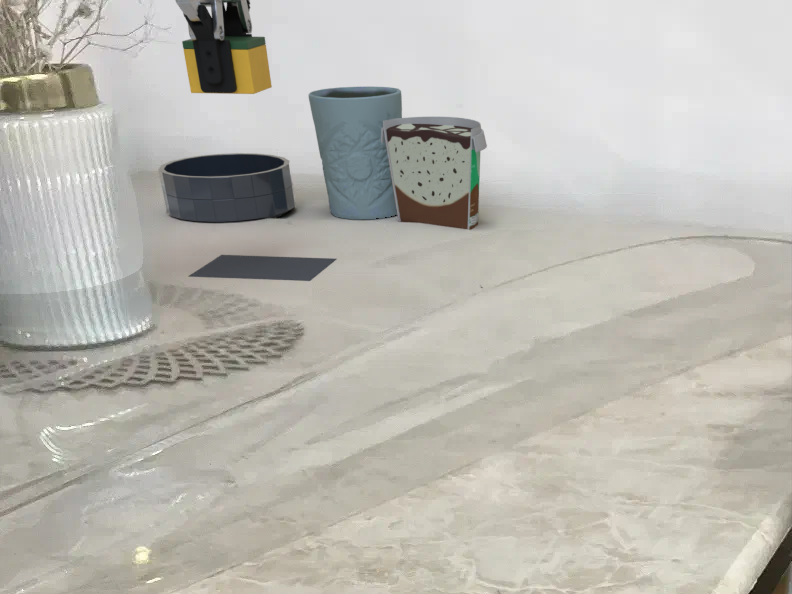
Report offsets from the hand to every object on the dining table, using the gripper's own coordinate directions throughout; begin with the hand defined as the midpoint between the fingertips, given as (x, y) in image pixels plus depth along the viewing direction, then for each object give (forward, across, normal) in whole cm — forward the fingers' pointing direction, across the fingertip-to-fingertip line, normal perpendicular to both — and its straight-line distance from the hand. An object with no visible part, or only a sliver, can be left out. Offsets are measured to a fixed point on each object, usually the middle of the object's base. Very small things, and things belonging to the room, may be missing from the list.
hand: (230, 85), depth 103 cm
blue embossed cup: (+15, -23, +4) cm, 28 cm away
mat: (+15, +4, +2) cm, 16 cm away
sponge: (0, 0, 0) cm, 0 cm away
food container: (+15, -18, +15) cm, 28 cm away
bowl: (+15, -20, -11) cm, 27 cm away
